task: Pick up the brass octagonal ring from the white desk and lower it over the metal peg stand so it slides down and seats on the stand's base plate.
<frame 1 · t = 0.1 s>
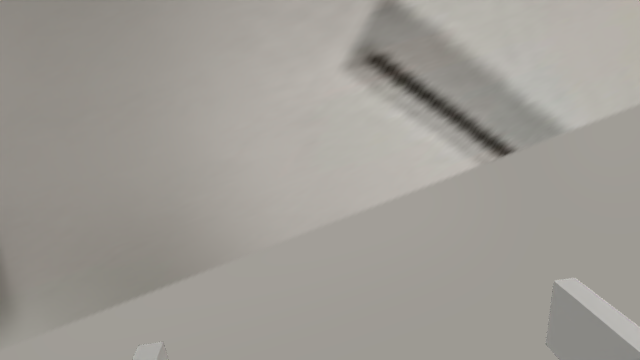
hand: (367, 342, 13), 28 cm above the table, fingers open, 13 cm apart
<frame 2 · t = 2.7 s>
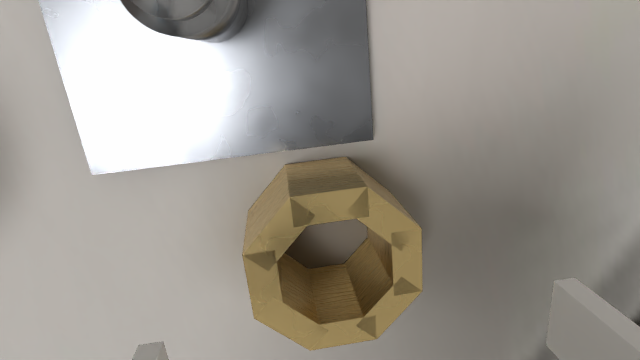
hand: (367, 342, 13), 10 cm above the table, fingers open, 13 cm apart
ring: (322, 227, 22), on the table
metal peg stand: (213, 7, 18), on the table
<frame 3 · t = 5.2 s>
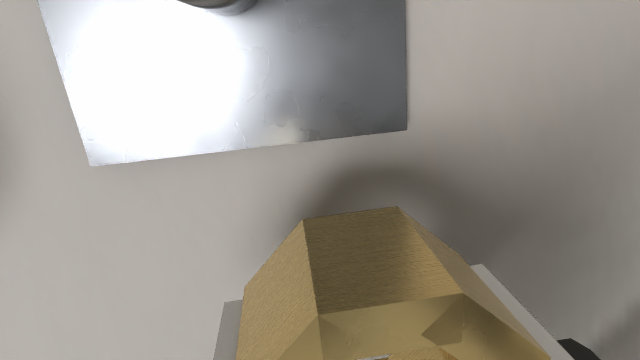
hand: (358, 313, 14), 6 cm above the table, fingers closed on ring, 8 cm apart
ring: (357, 308, 15), point 6 cm above the table, touching gripper
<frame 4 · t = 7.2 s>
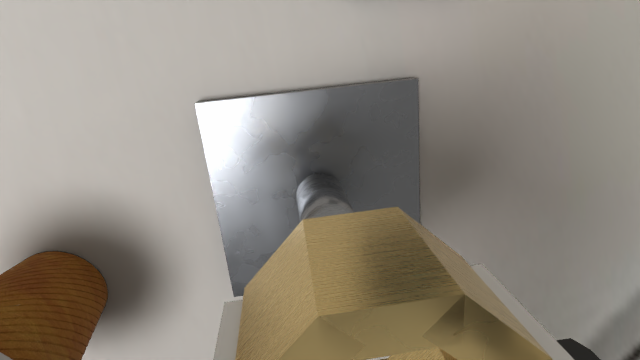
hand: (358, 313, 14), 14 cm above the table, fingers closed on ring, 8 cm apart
ring: (357, 309, 14), point 13 cm above the table, touching gripper
metal peg stand: (318, 190, 27), on the table
disposable coffee cup: (62, 288, 27), on the table
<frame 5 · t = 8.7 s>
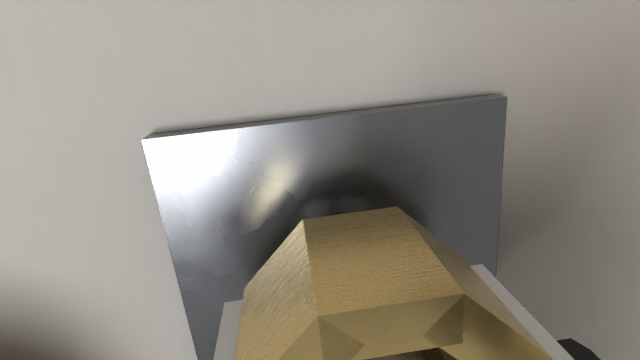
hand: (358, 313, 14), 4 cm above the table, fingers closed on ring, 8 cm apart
ring: (357, 308, 14), point 3 cm above the table, touching gripper
metal peg stand: (341, 264, 18), on the table
when the fingers open (2 cm above the table, at t = 9.5 s): ring stays where it is, resting on metal peg stand.
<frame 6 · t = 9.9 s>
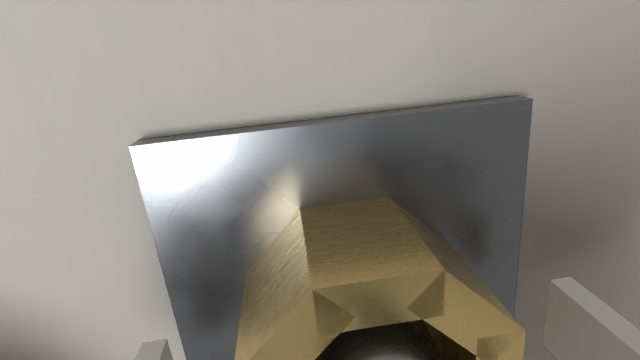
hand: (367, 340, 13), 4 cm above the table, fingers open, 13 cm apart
ring: (351, 293, 15), point 1 cm above the table, touching metal peg stand
metal peg stand: (348, 279, 16), on the table
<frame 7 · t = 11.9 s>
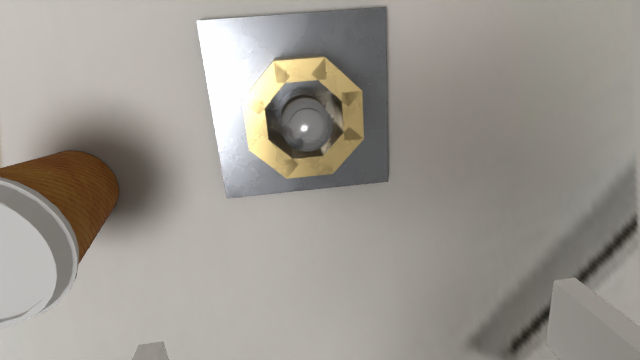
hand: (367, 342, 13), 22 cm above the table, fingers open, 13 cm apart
ring: (301, 108, 31), point 1 cm above the table, touching metal peg stand
metal peg stand: (300, 106, 32), on the table
disposable coffee cup: (80, 186, 32), on the table
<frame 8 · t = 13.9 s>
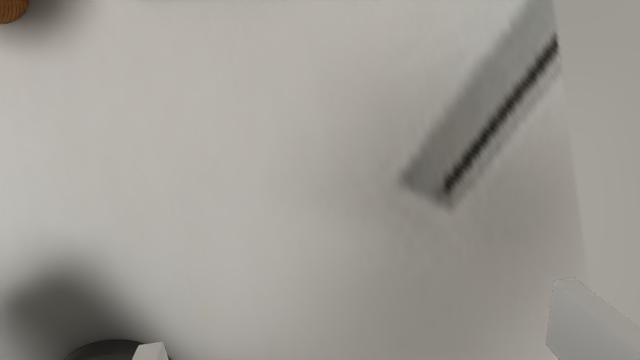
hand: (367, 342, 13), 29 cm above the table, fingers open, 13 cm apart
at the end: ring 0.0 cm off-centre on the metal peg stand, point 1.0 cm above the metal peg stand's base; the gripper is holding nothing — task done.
